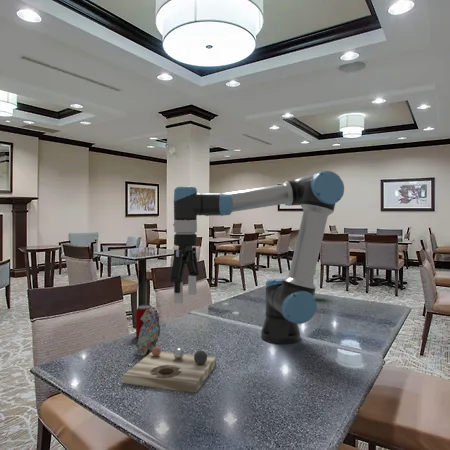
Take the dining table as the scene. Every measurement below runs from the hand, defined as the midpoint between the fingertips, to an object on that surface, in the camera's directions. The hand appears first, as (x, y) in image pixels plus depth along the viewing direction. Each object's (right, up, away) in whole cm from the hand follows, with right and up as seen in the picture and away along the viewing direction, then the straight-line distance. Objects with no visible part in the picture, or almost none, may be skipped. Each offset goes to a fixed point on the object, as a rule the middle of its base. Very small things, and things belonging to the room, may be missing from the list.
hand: (185, 298), depth 119 cm
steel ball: (-2, -16, -6) cm, 17 cm away
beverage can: (-19, -20, +23) cm, 35 cm away
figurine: (-14, -20, +8) cm, 26 cm away
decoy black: (+6, -16, -10) cm, 20 cm away
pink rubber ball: (-9, -16, -3) cm, 19 cm away
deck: (-3, -20, -11) cm, 23 cm away
